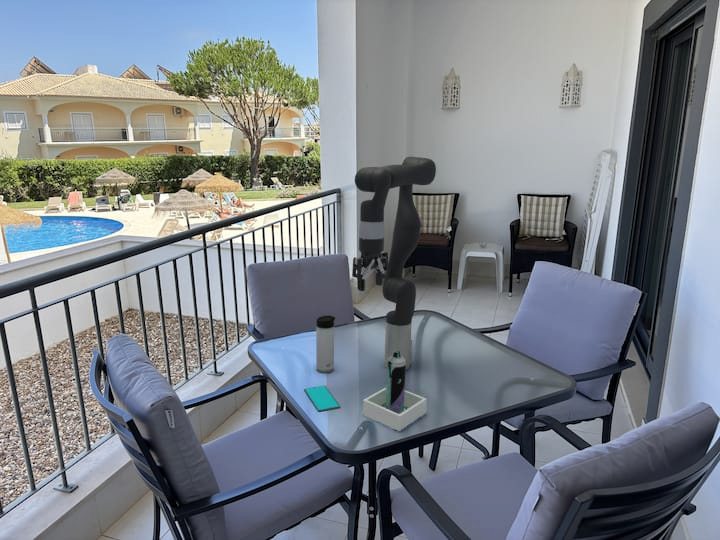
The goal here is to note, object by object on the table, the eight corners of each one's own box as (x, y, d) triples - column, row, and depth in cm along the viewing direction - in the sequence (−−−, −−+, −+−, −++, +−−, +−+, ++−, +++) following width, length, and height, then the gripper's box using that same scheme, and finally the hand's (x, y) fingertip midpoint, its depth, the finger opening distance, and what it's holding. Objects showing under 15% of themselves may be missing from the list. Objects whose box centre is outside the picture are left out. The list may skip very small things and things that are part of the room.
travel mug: (332, 374, 178) (332, 320, 173) (314, 372, 179) (314, 318, 174) (336, 366, 184) (337, 314, 179) (319, 364, 185) (319, 313, 180)
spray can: (398, 420, 149) (400, 357, 144) (382, 414, 151) (384, 352, 146) (406, 411, 153) (409, 350, 148) (390, 406, 156) (393, 346, 151)
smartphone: (318, 411, 152) (303, 388, 166) (318, 413, 153) (303, 391, 166) (341, 406, 155) (325, 385, 169) (341, 409, 155) (325, 387, 169)
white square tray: (390, 398, 161) (390, 384, 160) (426, 413, 153) (426, 398, 152) (362, 415, 151) (363, 400, 150) (399, 432, 143) (399, 416, 142)
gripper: (376, 231, 159) (375, 281, 163) (346, 237, 148) (345, 290, 152) (395, 234, 154) (394, 285, 158) (365, 240, 143) (364, 295, 147)
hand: (370, 287), depth 155 cm, fingers open, 8 cm apart
